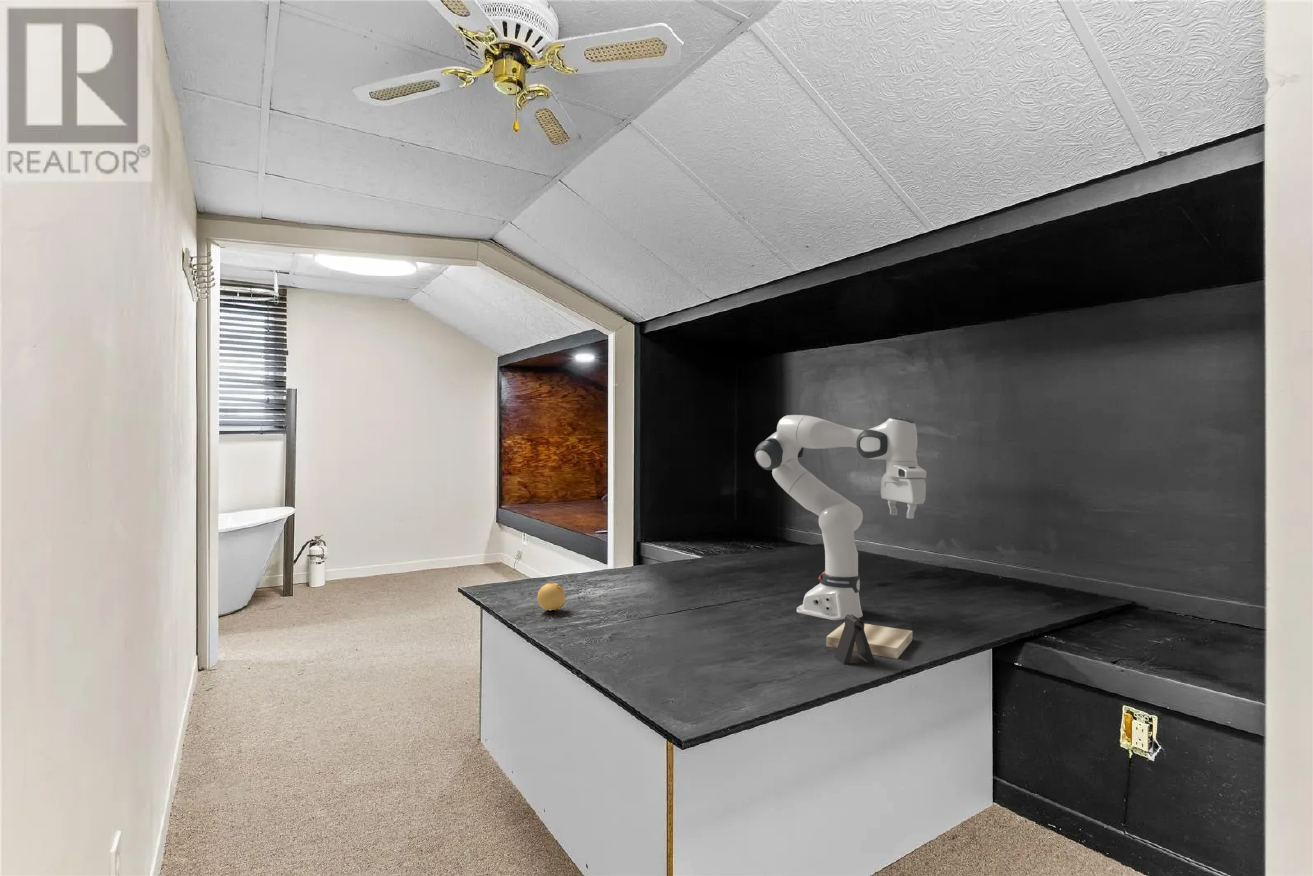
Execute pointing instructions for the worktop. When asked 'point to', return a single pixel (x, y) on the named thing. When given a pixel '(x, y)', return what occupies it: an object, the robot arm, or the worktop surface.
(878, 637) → the birch plinth
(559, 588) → the stress ball
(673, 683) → the worktop surface
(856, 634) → the phone stand
